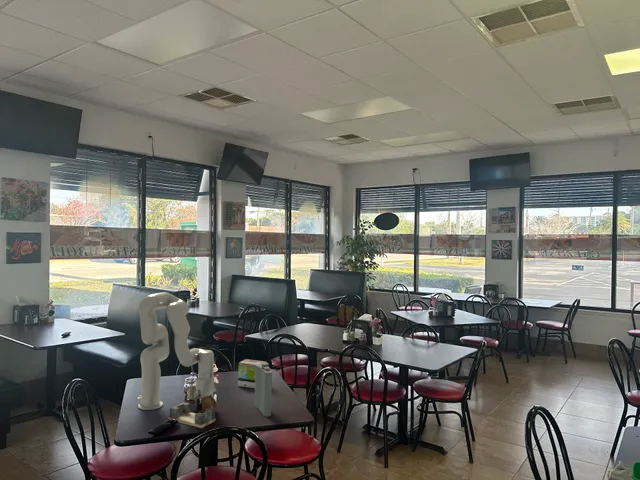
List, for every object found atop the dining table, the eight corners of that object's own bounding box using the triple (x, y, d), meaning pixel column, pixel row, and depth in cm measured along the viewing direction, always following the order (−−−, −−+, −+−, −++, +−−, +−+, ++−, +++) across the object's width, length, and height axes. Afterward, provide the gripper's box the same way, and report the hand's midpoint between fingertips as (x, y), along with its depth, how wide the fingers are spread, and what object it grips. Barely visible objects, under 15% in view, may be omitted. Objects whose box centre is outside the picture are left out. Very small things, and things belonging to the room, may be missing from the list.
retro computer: (237, 386, 289) (238, 362, 289) (244, 382, 298) (245, 358, 298) (260, 389, 284) (260, 364, 284) (266, 384, 294) (267, 361, 294)
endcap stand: (201, 428, 224) (201, 416, 224) (168, 419, 234) (168, 408, 234) (215, 420, 234) (215, 409, 234) (183, 412, 243) (183, 401, 243)
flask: (273, 415, 243) (274, 366, 243) (265, 416, 241) (266, 367, 241) (261, 404, 258) (263, 358, 258) (253, 405, 256) (254, 359, 256)
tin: (192, 409, 248) (193, 393, 248) (197, 408, 251) (197, 392, 251) (212, 416, 240) (213, 399, 240) (217, 414, 243) (217, 398, 243)
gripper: (210, 369, 255) (210, 401, 255) (188, 377, 239) (187, 412, 239) (222, 371, 252) (221, 404, 252) (200, 379, 236) (199, 414, 236)
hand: (204, 408), depth 245 cm, fingers open, 8 cm apart
